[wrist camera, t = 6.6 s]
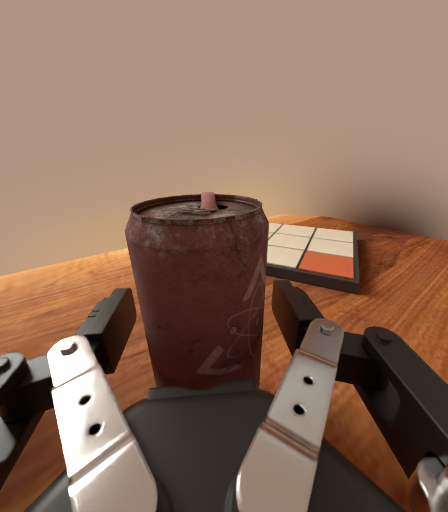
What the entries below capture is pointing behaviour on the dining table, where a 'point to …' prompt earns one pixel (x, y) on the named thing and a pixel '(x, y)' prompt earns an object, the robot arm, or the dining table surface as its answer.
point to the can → (201, 286)
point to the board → (314, 256)
